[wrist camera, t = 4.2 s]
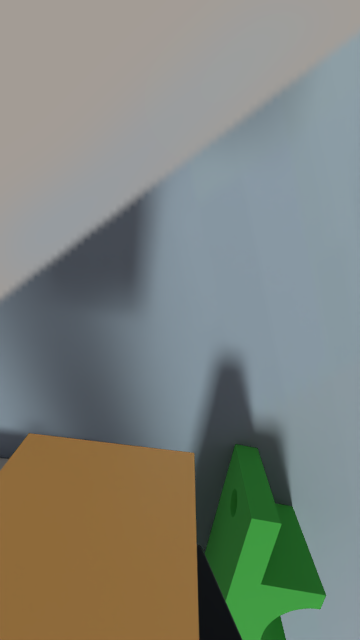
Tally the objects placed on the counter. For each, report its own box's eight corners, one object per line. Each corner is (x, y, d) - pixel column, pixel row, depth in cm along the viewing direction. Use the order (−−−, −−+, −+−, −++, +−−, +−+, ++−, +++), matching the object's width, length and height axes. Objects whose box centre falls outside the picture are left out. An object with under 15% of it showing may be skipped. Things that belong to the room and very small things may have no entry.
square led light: (175, 577, 10) (158, 1012, 4) (29, 560, 10) (-171, 980, 4) (194, 453, 9) (203, 834, 3) (29, 433, 9) (-244, 785, 3)
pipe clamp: (252, 614, 20) (270, 728, 15) (189, 603, 19) (189, 715, 15) (309, 455, 16) (353, 539, 12) (234, 441, 16) (251, 521, 12)
